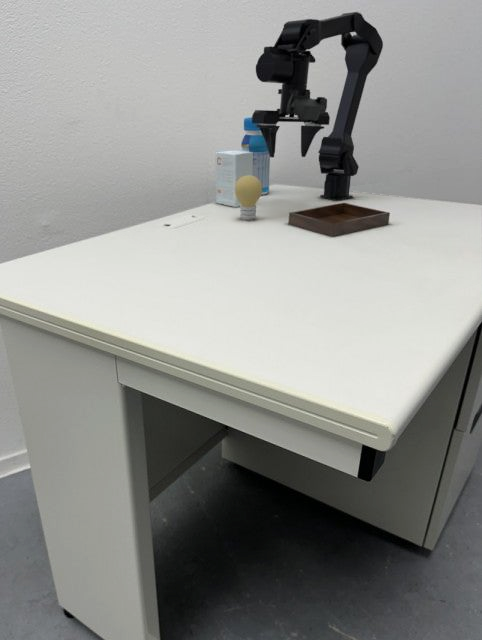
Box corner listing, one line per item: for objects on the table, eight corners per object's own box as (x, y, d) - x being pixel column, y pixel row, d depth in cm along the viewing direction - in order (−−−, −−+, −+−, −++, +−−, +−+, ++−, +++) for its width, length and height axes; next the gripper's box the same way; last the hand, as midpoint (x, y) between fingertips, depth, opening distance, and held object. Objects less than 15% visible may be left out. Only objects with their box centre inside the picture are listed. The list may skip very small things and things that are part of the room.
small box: (252, 203, 146) (253, 151, 140) (235, 207, 143) (235, 154, 137) (232, 199, 152) (232, 149, 146) (215, 203, 148) (214, 152, 142)
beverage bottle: (261, 197, 154) (262, 119, 144) (235, 194, 158) (235, 118, 149) (274, 191, 160) (276, 116, 151) (249, 189, 164) (249, 116, 155)
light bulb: (232, 217, 133) (232, 174, 129) (257, 215, 134) (258, 172, 129) (237, 223, 128) (238, 178, 123) (264, 221, 129) (265, 176, 124)
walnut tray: (342, 213, 133) (343, 202, 132) (388, 224, 123) (390, 212, 121) (288, 224, 126) (288, 212, 124) (332, 236, 115) (333, 224, 114)
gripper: (280, 81, 115) (274, 160, 122) (349, 85, 123) (339, 159, 130) (252, 83, 124) (248, 156, 131) (318, 86, 132) (311, 155, 139)
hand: (287, 157), depth 132 cm, fingers open, 9 cm apart
